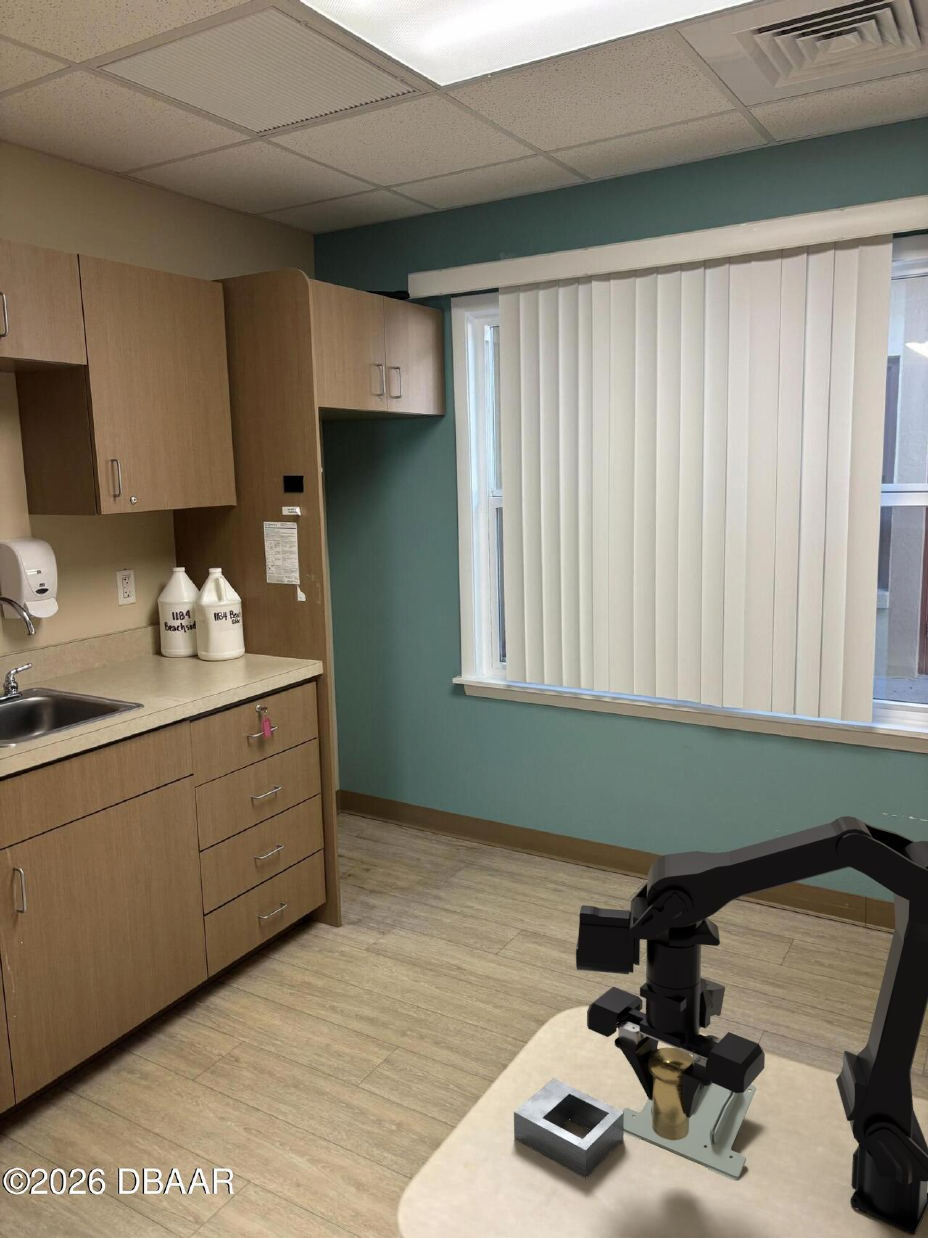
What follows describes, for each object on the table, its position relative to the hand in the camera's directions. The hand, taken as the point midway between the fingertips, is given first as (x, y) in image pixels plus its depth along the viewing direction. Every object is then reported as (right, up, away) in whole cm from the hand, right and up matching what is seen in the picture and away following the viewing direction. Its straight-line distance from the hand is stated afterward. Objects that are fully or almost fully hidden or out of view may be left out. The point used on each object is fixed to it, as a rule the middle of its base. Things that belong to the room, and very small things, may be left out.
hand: (671, 1107), depth 104 cm
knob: (0, -3, 0) cm, 2 cm away
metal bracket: (+5, -7, +10) cm, 13 cm away
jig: (-10, -8, +6) cm, 14 cm away
